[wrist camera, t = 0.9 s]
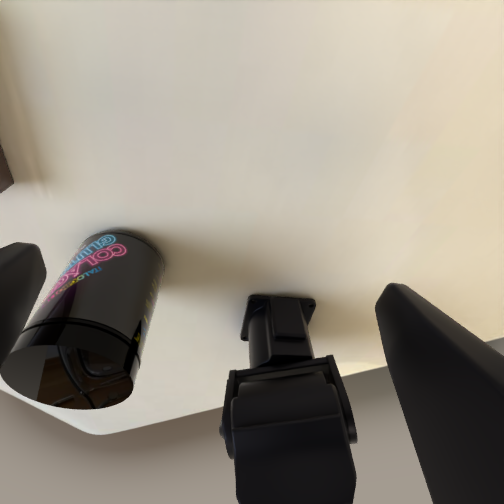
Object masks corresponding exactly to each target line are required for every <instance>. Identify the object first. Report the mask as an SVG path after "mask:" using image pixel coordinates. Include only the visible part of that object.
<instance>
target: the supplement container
mask: <svg viewBox="0 0 504 504" xmlns="http://www.w3.org/2000/svg"><path fill="white" fill-rule="evenodd" d="M163 276H164V264H163V261H162V258H161V256H160V254H159V253H158V251H157V250H156V249H155V248H154V247H153V246H152V245H151V244H150V243H149V242H148V241H146V240H145V239H143V238H141V237H139V236H137V235H135V234H132V233H128V232H124V231H104V232H100V233H97V234H95V235H93V236H91V237H89V238H87V239H86V240H85V241H84V242H83V243H82V244H81V246H80V247H79V249H78V250H77V252H76V253H75V254H74V256H73V257H72V259H71V260H70V262H69V263H68V265H67V266H66V268H65V269H64V271H63V272H62V274H61V275H60V277H59V278H58V280H57V281H56V283H55V284H54V286H53V287H52V289H51V290H50V292H49V293H48V295H47V296H46V297H45V299H44V300H43V302H42V303H41V305H40V306H39V308H38V309H37V311H36V312H35V314H34V315H33V317H32V318H31V320H30V321H29V323H28V324H27V326H26V327H25V328H24V329H23V331H22V333H21V335H20V337H19V338H18V340H17V342H16V344H15V346H14V347H13V349H12V351H11V352H10V354H9V356H8V357H7V359H6V361H5V362H4V364H3V366H2V367H1V369H0V374H1V376H2V378H3V380H4V381H5V382H6V383H7V385H9V386H10V387H11V388H12V389H13V390H15V391H16V392H18V393H20V394H21V395H23V396H25V397H27V398H29V399H32V400H34V401H37V402H40V403H43V404H47V405H51V406H55V407H61V408H68V409H82V410H87V409H100V408H106V407H110V406H113V405H116V404H119V403H121V402H123V401H124V400H126V399H127V398H128V397H129V396H130V395H131V393H132V391H133V388H134V384H135V381H136V377H137V373H138V370H139V368H140V364H141V356H142V353H143V349H144V345H145V342H146V338H147V334H148V331H149V327H150V323H151V320H152V316H153V312H154V309H155V305H156V301H157V298H158V294H159V290H160V287H161V283H162V279H163Z"/></svg>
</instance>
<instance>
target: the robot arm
mask: <svg viewBox="0 0 504 504" xmlns="http://www.w3.org/2000/svg"><path fill="white" fill-rule="evenodd" d="M46 274H47V273H46V267H45V264H44V261H43V258H42V254H41V251H40V249H39V247H38V246H37V245H35V244H31V243H22V242H16V243H13V244H10V245H8V246H6V247H3V248H1V249H0V369H1V367H2V366H3V364H4V362H5V361H6V359H7V357H8V356H9V354H10V352H11V351H12V349H13V347H14V346H15V344H16V342H17V340H18V338H19V337H20V335H21V333H22V331H23V329H24V327H25V324H26V322H27V320H28V318H29V315H30V313H31V311H32V309H33V306H34V304H35V302H36V300H37V298H38V295H39V293H40V291H41V289H42V286H43V284H44V282H45V279H46ZM253 300H254V301H253ZM315 307H316V303H315V300H313V299H302V298H289V297H275V296H261V295H251V296H249V297H248V301H247V306H246V311H245V315H244V320H243V325H242V330H241V334H240V336H241V340H243V341H249V359H250V369H244V370H230V372H229V379H228V380H227V386H226V393H225V400H224V407H223V414H222V420H221V423H220V427H219V432H220V435H221V436H222V437H223V438H224V439H225V444H226V449H227V453H228V455H229V457H230V459H234V465H235V476H236V497H237V500H238V502H239V504H353V499H354V492H355V487H356V471H355V466H354V462H353V458H352V453H351V449H350V445H349V444H355V443H357V433H356V427H355V422H354V418H353V413H352V410H351V406H350V402H349V399H348V396H347V393H346V390H345V387H344V385H343V382H342V379H341V376H340V374H339V371H338V368H337V365H336V363H335V360H334V357H333V355H327V356H326V357H321V358H315V357H314V353H313V349H312V344H311V340H310V336H309V332H308V328H307V326H308V324H309V321H310V319H311V317H312V314H313V312H314V310H315ZM375 312H376V317H377V321H378V326H379V331H380V335H381V340H382V344H383V349H384V353H385V357H386V361H387V364H388V368H389V371H390V374H391V377H392V380H393V383H394V386H395V389H396V392H397V395H398V398H399V401H400V404H401V407H402V410H403V413H404V416H405V419H406V423H407V425H408V429H409V431H410V434H411V437H412V440H413V444H414V447H415V450H416V453H417V456H418V459H419V462H420V465H421V468H422V471H423V474H424V477H425V480H426V483H427V486H428V489H429V492H430V495H431V498H432V501H433V504H504V356H503V355H501V354H500V353H499V352H497V351H496V350H495V349H493V348H492V347H490V346H489V345H487V344H486V343H485V342H484V341H482V340H481V339H479V338H478V337H477V336H475V335H474V334H473V333H471V332H470V331H468V330H467V329H466V328H464V327H463V326H461V325H460V324H459V323H457V322H456V321H455V320H453V319H452V318H450V317H449V316H448V315H446V314H445V313H444V312H442V311H441V310H439V309H438V308H437V307H435V306H434V305H433V304H431V303H430V302H428V301H427V300H426V299H424V298H423V297H421V296H420V295H419V294H417V293H416V292H415V291H413V290H412V289H410V288H409V287H408V286H406V285H404V284H397V283H390V284H388V285H387V286H386V288H385V289H384V291H383V293H382V294H381V296H380V297H379V299H378V301H377V302H376V306H375Z"/></svg>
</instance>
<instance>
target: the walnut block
mask: <svg viewBox="0 0 504 504" xmlns="http://www.w3.org/2000/svg"><path fill="white" fill-rule="evenodd" d="M12 184H14V182H13V180H12V177H11V174H10V171H9V169H8V166H7V163H6V160H5V158H4V155H3V152H2V149H1V146H0V193H2V192H3V191H4V190H6V189H7V188H8V187H10V186H11V185H12Z"/></svg>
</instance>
